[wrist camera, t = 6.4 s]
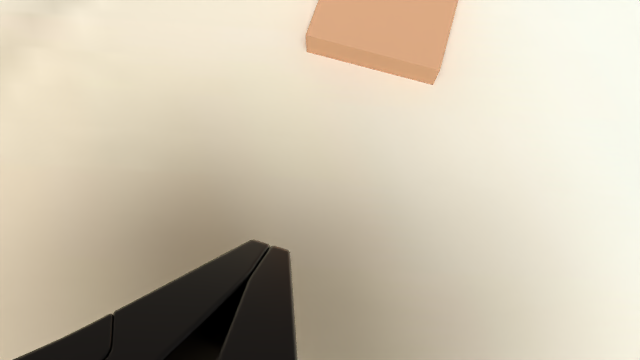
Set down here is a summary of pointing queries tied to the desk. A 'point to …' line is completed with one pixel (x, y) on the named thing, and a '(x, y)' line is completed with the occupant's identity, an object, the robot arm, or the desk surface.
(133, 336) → the robot arm
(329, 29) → the glazed tile
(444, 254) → the desk surface
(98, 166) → the desk surface
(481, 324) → the desk surface
